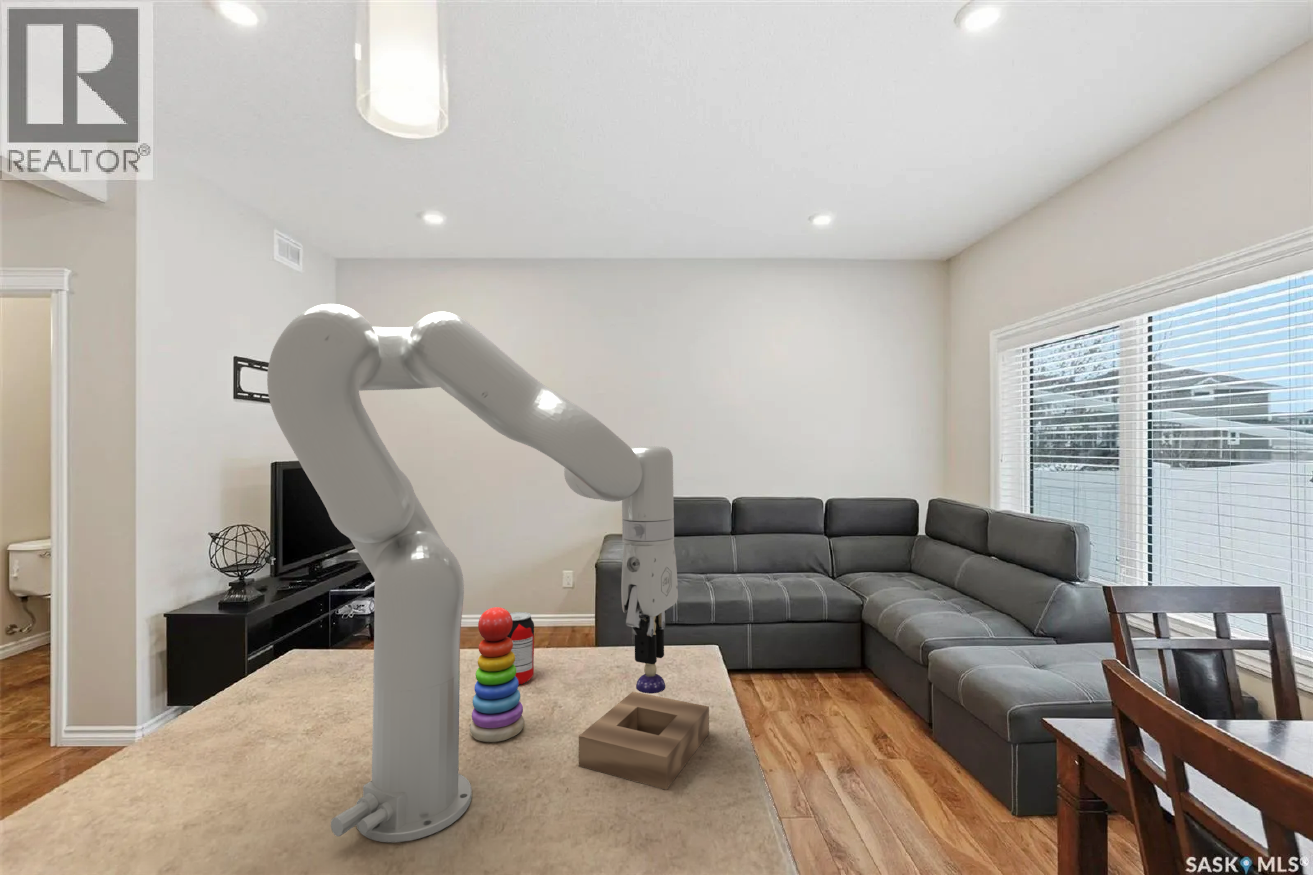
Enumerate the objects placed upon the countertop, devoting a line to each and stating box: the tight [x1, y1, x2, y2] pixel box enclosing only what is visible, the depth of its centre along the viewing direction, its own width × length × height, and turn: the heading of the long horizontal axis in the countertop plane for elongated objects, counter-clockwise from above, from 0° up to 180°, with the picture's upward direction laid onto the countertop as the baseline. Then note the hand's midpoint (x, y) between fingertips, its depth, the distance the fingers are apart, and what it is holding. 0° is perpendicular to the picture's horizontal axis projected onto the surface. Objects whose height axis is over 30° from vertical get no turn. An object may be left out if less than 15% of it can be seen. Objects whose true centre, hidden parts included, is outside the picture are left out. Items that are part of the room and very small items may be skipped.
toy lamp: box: [635, 616, 666, 695], centre depth 81 cm, size 5×5×17 cm
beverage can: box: [507, 611, 535, 686], centre depth 106 cm, size 6×6×12 cm
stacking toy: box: [469, 606, 525, 743], centre depth 86 cm, size 8×8×19 cm
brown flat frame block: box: [578, 691, 710, 791], centre depth 81 cm, size 16×13×4 cm
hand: (649, 658), depth 81 cm, fingers closed on toy lamp
